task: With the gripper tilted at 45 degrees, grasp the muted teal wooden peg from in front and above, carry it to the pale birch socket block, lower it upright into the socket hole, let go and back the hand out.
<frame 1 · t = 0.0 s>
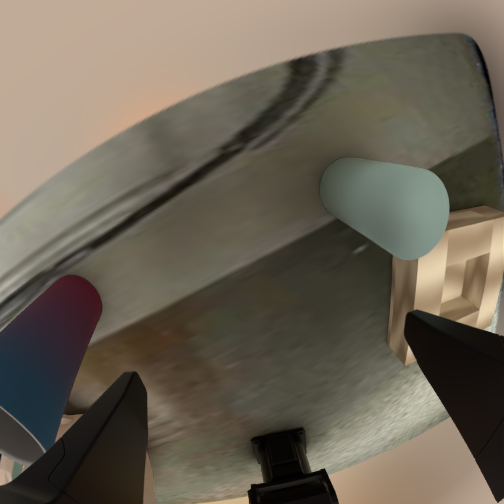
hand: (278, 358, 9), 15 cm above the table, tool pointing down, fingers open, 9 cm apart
peg: (349, 188, 23), on the table
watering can: (108, 443, 30), on the table
cup: (77, 300, 23), on the table
socket: (441, 274, 27), on the table
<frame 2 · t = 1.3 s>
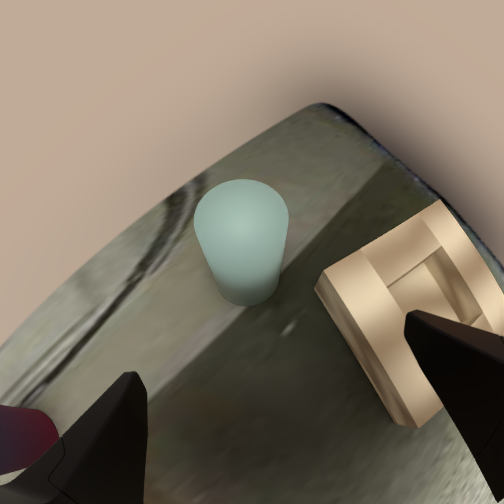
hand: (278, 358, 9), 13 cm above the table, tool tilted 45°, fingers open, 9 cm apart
peg: (247, 275, 24), on the table
cup: (41, 435, 18), on the table
socket: (415, 314, 22), on the table
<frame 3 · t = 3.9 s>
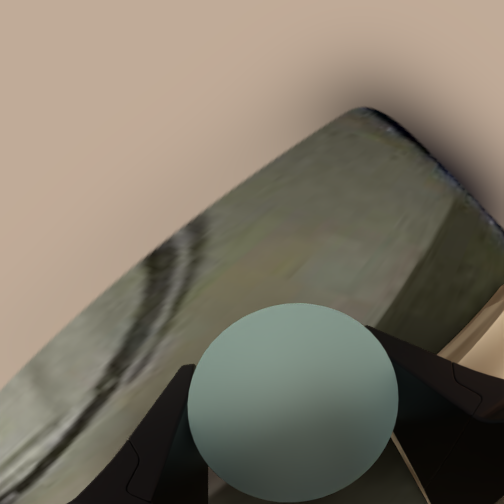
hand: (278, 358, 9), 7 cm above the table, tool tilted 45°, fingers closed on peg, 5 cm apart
peg: (276, 393, 14), on the table, touching gripper
socket: (489, 415, 12), on the table
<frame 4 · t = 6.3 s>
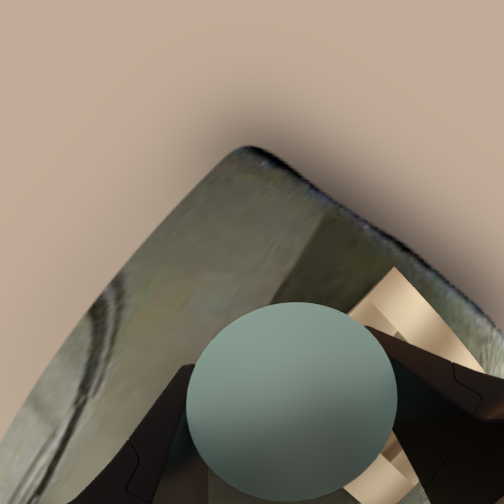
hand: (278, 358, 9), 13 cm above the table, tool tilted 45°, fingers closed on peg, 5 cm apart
peg: (275, 392, 14), point 7 cm above the table, touching gripper
socket: (375, 396, 20), on the table
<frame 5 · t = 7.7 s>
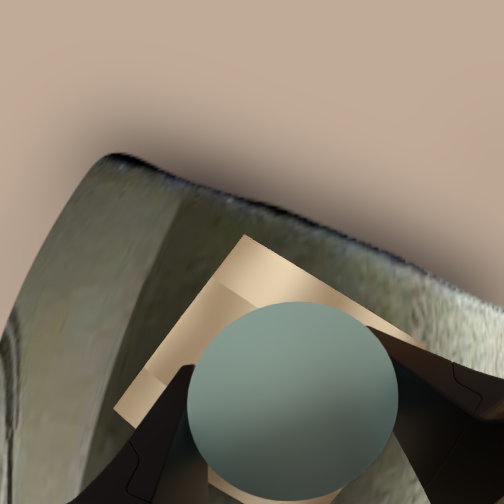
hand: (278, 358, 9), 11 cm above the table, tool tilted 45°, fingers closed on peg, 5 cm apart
peg: (276, 392, 14), point 4 cm above the table, touching gripper
socket: (272, 388, 18), on the table
when the fingers open (8 cm above the table, at t = 8.6 s): peg drops 1 cm, resting on socket.
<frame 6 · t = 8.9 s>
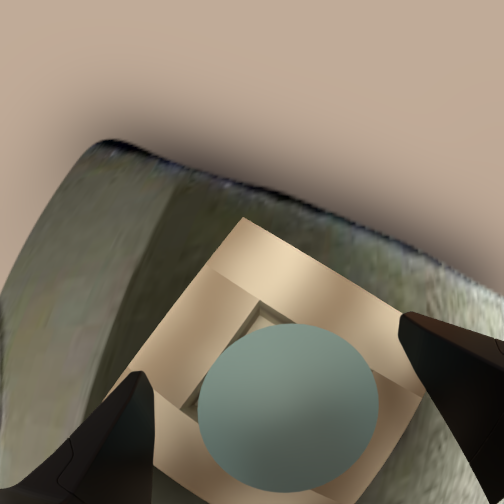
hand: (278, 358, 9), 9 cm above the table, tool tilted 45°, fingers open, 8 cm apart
peg: (275, 392, 15), point 1 cm above the table, touching socket
socket: (274, 391, 16), on the table
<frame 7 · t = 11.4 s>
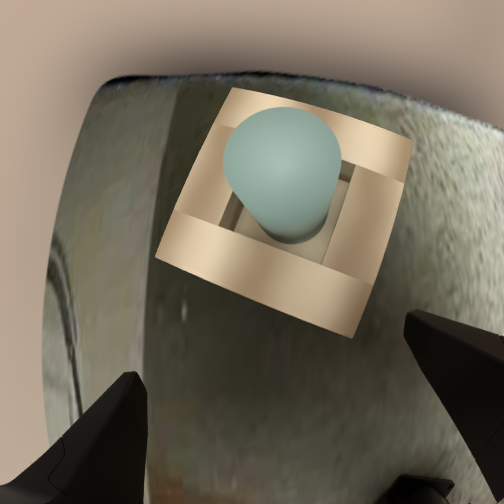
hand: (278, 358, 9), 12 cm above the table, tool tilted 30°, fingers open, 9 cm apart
peg: (291, 208, 21), point 1 cm above the table, touching socket
socket: (291, 210, 22), on the table
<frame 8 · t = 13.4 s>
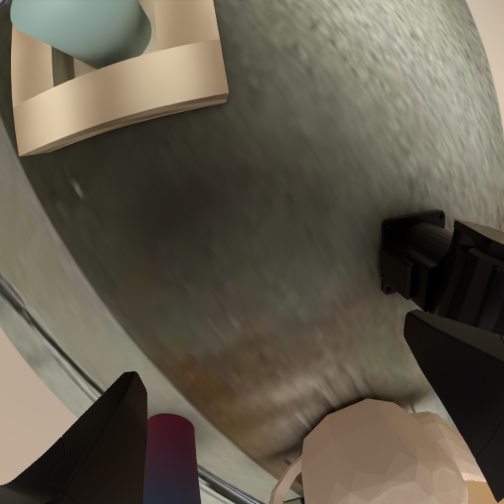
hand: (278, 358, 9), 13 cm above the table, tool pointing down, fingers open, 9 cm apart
peg: (115, 38, 15), point 1 cm above the table, touching socket
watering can: (359, 422, 31), on the table
cup: (170, 426, 27), on the table
socket: (118, 40, 15), on the table
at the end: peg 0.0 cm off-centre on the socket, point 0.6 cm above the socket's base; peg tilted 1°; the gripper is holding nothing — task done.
